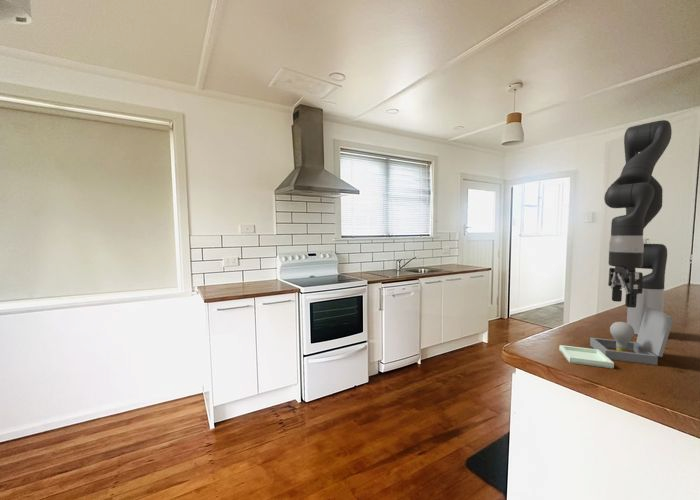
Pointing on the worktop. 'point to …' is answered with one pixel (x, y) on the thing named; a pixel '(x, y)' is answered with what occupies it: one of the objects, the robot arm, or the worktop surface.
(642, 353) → the case
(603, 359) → the tray
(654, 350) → the lid
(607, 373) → the worktop surface
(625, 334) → the light bulb
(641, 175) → the robot arm
